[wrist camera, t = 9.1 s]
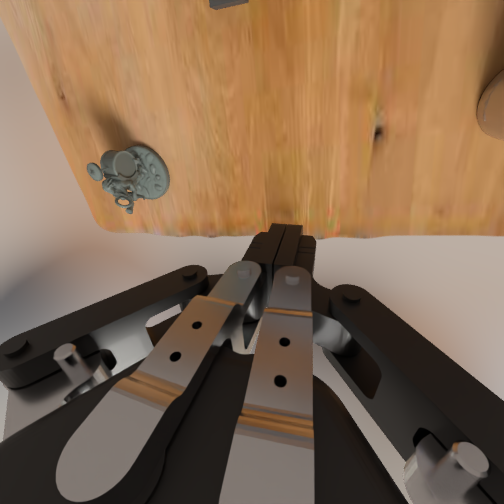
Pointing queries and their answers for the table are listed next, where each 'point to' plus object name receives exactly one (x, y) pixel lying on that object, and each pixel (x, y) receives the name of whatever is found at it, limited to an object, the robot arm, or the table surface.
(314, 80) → the table surface
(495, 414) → the robot arm
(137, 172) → the figurine
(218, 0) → the chute
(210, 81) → the table surface
